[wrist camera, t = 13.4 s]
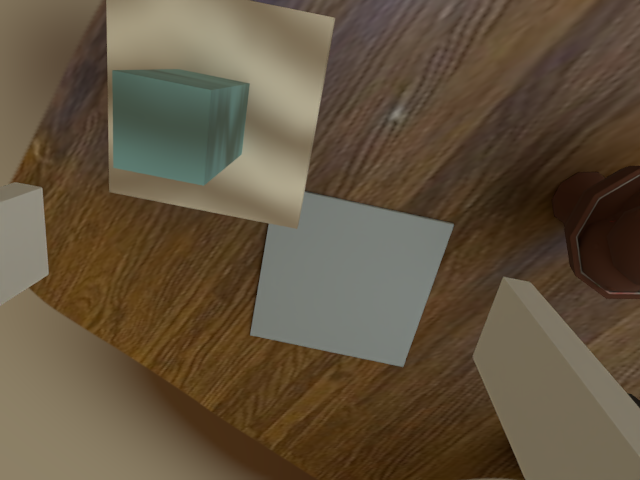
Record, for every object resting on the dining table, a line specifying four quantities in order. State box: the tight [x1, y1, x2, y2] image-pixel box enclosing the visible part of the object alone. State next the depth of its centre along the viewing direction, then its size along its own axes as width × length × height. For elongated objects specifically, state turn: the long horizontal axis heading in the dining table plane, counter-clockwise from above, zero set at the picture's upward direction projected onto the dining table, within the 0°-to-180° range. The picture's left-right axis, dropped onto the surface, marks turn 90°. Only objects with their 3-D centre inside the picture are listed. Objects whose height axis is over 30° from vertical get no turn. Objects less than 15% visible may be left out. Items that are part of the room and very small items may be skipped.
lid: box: [106, 0, 335, 229], centre depth 26 cm, size 15×15×10 cm
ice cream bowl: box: [552, 166, 640, 299], centre depth 33 cm, size 11×11×15 cm
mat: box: [250, 191, 454, 367], centre depth 44 cm, size 18×18×1 cm
